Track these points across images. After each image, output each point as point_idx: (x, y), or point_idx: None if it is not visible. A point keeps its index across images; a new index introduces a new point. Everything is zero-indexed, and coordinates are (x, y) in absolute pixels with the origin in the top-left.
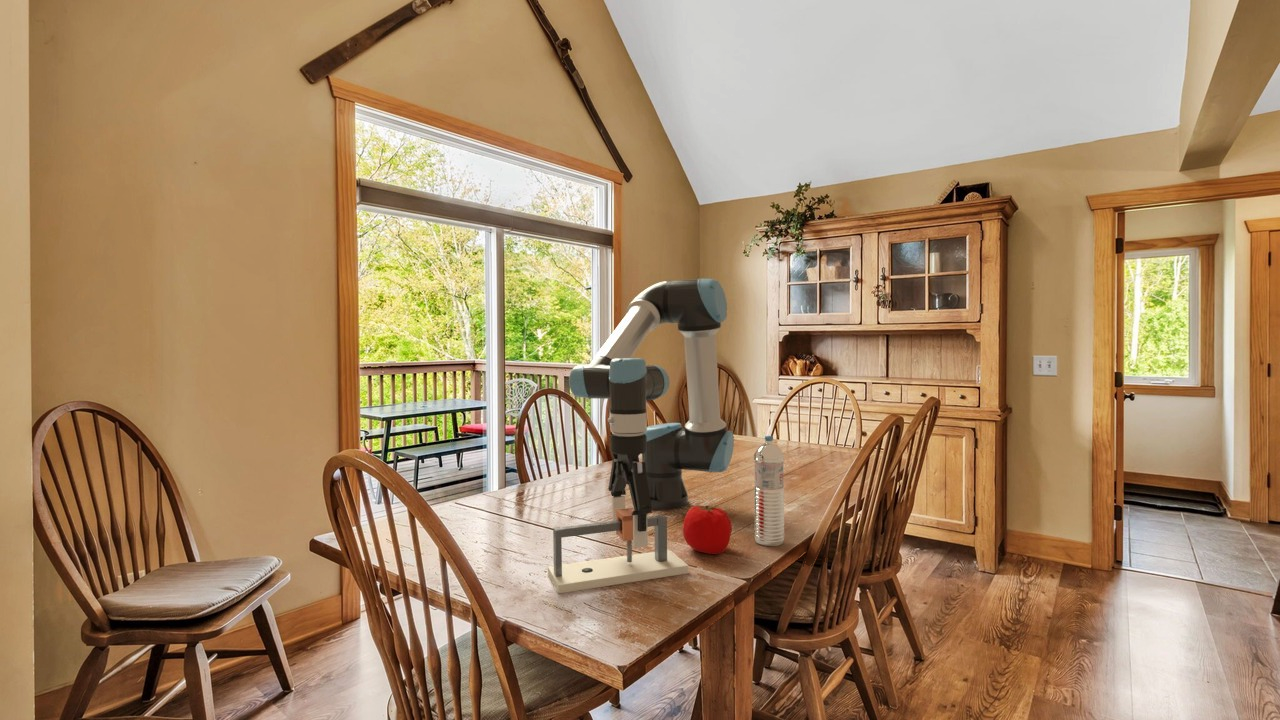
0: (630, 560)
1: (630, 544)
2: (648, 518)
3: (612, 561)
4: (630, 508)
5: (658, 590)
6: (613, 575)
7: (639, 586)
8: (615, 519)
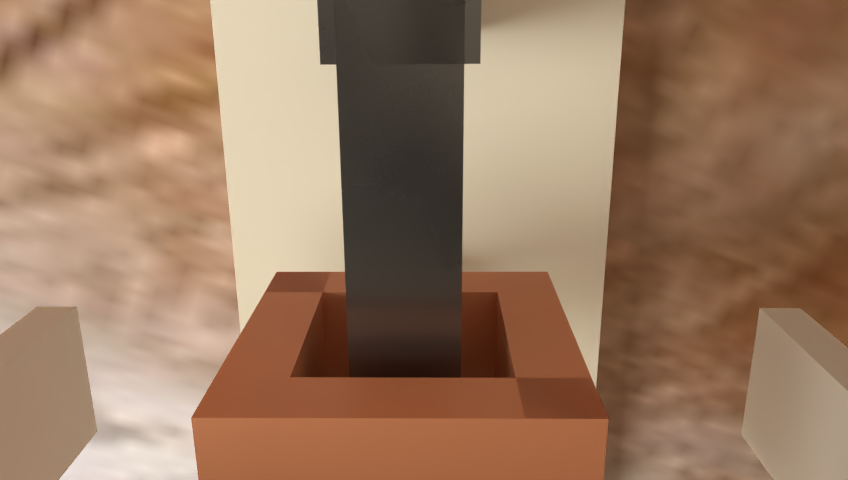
0: None
1: None
2: (431, 208)
3: None
4: (210, 478)
5: (797, 170)
6: None
7: (676, 262)
8: (50, 465)
